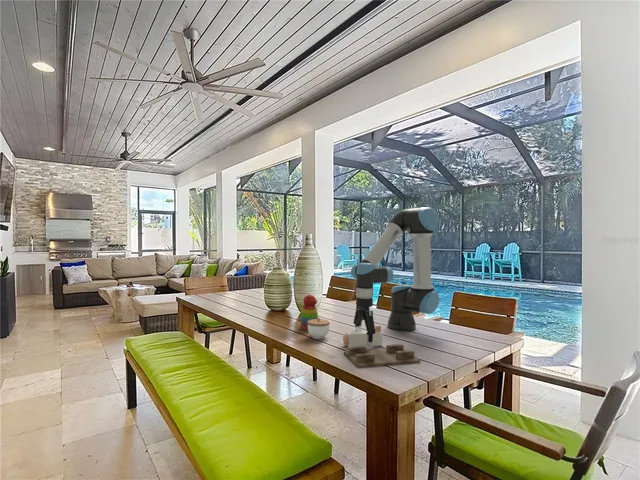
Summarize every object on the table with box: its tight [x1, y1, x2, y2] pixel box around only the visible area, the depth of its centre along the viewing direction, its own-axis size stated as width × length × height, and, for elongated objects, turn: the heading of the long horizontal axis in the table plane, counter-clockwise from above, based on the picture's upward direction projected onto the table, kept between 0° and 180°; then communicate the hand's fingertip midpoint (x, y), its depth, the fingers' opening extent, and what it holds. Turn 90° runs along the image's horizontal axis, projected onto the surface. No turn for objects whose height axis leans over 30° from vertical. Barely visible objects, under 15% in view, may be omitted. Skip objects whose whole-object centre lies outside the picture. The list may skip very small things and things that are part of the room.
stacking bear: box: [299, 293, 319, 331], centre depth 186 cm, size 11×10×18 cm
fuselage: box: [342, 325, 384, 348], centre depth 158 cm, size 17×4×8 cm, turn 104°
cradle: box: [343, 343, 421, 369], centre depth 141 cm, size 26×16×4 cm, turn 105°
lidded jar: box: [307, 317, 331, 340], centre depth 169 cm, size 11×11×9 cm
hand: (363, 344), depth 158 cm, fingers open, 12 cm apart
